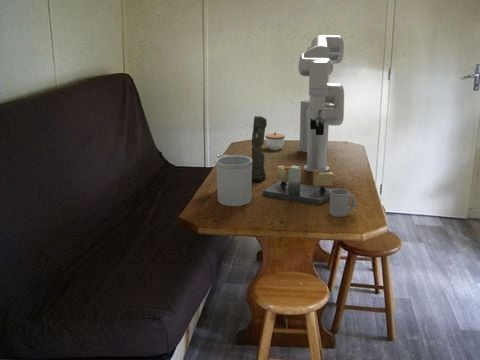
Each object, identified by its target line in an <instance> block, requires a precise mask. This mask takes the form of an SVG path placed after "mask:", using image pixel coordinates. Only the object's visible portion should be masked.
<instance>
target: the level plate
mask: <svg viewBox="0 0 480 360" xmlns="http://www.w3.org/2000/svg"><path fill="white" fill-rule="evenodd" d="M301 175H302V170H301V166H300V165H290V169H289V175H288V182H286V184H281V180H278V181H277V182H276V183H274V184H272V185H270V186H268V187H266V188H265V189H263V190H262V196H265V197H272V198H277V199H278V198H279V199H284V200H290V201H294V202H295V201H296V202H302V203H308V204H312V205H313V204H314V205H320V206H321V205H323V204H324V203H326V201H328V200H330V190H332V189H333V188H330V187H325V190H320V186H314V185H307V184H301V181H302V179H301V178H302V177H301Z"/></svg>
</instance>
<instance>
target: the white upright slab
mask: <svg viewBox="0 0 480 360" xmlns="http://www.w3.org/2000/svg"><path fill="white" fill-rule="evenodd" d="M309 100H310V98H309V99H308V98H307V99H301V100H300V111H299V112H300V113H299V114H300V117H299V119H300V121H299V152H301V151H303V152H302V153H305V152H307V142H308V125H307V116H306V112H307V109H308V108H309ZM325 105H330V104H328V103H325ZM329 126H330V125H324V129H325V130H326V132H327V135H328V136H329ZM328 147H329V138H328V139H327V150H328Z"/></svg>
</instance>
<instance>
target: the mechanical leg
mask: <svg viewBox="0 0 480 360" xmlns="http://www.w3.org/2000/svg"><path fill="white" fill-rule="evenodd" d="M252 126H253V127H252V129H253V130H252V132H251V133H252V134H251V135H252V136H251V158H252V183H261V184H262V183H263V182H264V181H265V180H267V179H266V178H267V172H266V170H265V153H264V152H262V150H263V149H262V148H263V147H262V146H263V145H264V143H265V137H266V135H265V134H266V128H267V118H266V117H264V116H258V115H257V116H256V115H255V116H254V117H253V124H252Z"/></svg>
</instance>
